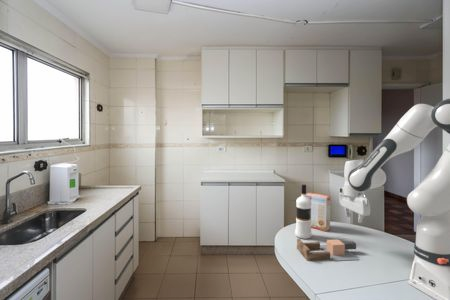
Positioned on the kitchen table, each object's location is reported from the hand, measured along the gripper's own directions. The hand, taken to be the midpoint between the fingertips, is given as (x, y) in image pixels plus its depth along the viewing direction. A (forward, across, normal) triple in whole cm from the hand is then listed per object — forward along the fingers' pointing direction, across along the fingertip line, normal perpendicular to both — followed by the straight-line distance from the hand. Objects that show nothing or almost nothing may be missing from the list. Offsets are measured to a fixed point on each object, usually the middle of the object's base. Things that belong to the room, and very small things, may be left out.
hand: (353, 219), depth 124 cm
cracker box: (+16, +34, +3) cm, 37 cm away
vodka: (+16, +22, +17) cm, 32 cm away
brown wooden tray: (+16, +1, +20) cm, 26 cm away
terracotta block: (+16, +1, +6) cm, 17 cm away
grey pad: (+16, +1, +8) cm, 18 cm away
